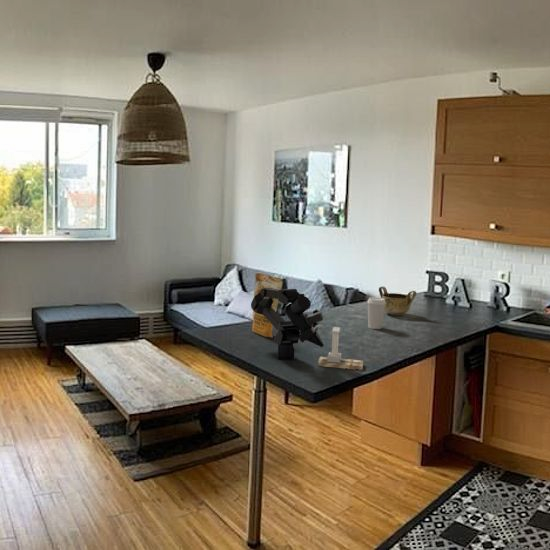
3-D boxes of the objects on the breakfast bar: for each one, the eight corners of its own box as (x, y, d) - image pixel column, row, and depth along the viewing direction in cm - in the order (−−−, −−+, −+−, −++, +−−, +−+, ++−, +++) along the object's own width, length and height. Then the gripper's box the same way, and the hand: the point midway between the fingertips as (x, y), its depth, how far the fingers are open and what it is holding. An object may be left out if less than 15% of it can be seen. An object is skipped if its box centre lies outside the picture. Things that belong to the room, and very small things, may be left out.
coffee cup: (383, 326, 317) (385, 297, 314) (384, 330, 307) (387, 301, 305) (364, 324, 318) (366, 296, 315) (365, 329, 308) (367, 299, 306)
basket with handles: (419, 315, 347) (422, 289, 344) (406, 320, 333) (408, 293, 331) (384, 309, 360) (386, 284, 358) (370, 313, 347) (372, 287, 345)
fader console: (317, 365, 242) (318, 362, 242) (320, 360, 251) (320, 356, 250) (362, 370, 240) (362, 366, 239) (363, 364, 248) (363, 360, 247)
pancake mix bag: (258, 328, 299) (260, 272, 295) (281, 337, 284) (284, 278, 280) (246, 330, 295) (248, 272, 291) (269, 339, 280) (272, 278, 276)
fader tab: (327, 361, 242) (329, 330, 240) (328, 356, 249) (330, 326, 247) (339, 362, 241) (341, 331, 240) (341, 358, 248) (343, 327, 246)
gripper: (309, 309, 234) (336, 339, 234) (315, 300, 253) (340, 328, 252) (287, 327, 237) (314, 357, 237) (295, 317, 255) (320, 345, 255)
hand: (323, 346), depth 245 cm, fingers closed
